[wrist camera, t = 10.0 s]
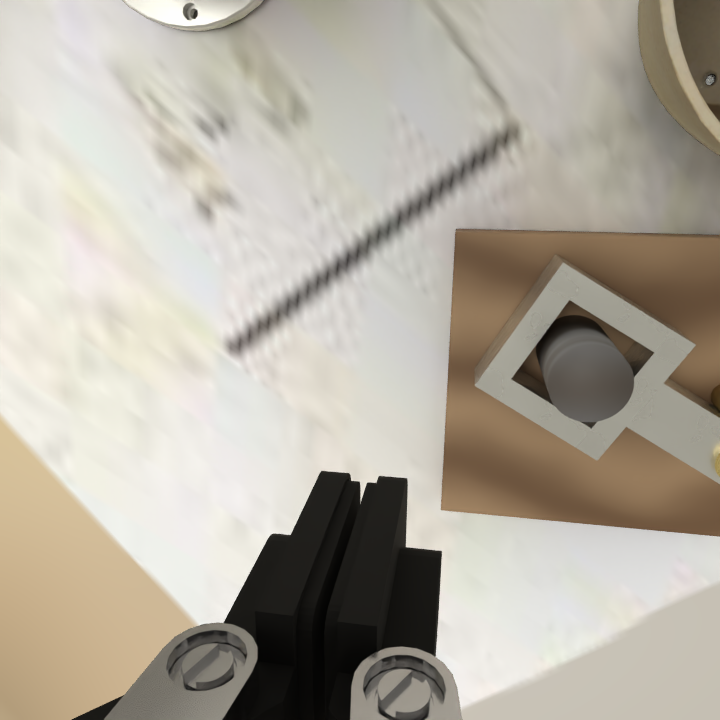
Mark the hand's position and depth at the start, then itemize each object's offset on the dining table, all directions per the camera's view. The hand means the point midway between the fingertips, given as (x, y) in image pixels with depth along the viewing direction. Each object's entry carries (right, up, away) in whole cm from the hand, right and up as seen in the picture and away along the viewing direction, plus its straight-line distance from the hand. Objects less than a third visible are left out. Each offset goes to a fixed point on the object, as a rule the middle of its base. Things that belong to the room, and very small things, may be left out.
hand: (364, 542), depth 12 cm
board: (+14, +2, +26) cm, 30 cm away
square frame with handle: (+15, +2, +24) cm, 28 cm away
